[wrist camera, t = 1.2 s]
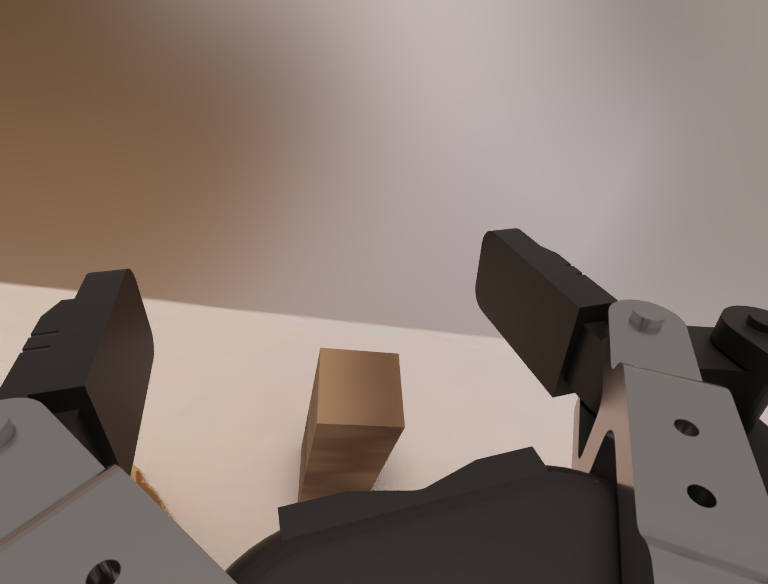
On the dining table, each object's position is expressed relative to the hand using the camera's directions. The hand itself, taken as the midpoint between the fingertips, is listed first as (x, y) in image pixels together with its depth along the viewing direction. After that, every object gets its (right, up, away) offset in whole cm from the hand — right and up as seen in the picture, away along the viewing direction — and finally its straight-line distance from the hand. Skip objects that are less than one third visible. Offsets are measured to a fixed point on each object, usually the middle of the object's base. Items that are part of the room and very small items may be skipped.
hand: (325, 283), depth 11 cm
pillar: (-2, -12, +20) cm, 24 cm away
